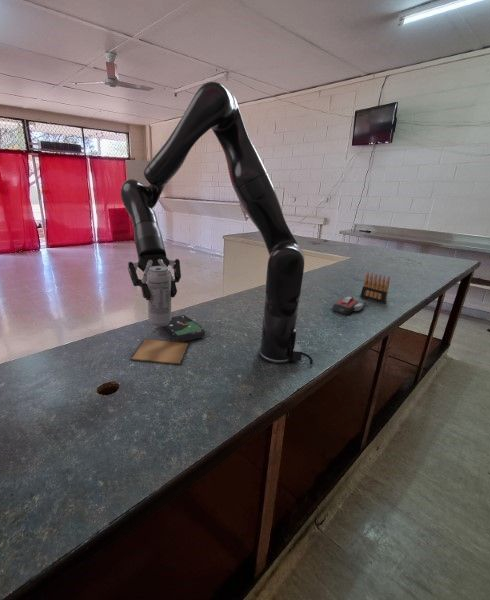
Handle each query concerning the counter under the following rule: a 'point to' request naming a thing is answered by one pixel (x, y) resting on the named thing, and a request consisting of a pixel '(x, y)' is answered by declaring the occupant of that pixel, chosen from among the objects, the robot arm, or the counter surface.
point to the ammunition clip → (375, 288)
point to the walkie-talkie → (348, 305)
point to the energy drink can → (159, 295)
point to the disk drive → (183, 329)
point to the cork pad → (160, 351)
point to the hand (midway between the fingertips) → (161, 297)
